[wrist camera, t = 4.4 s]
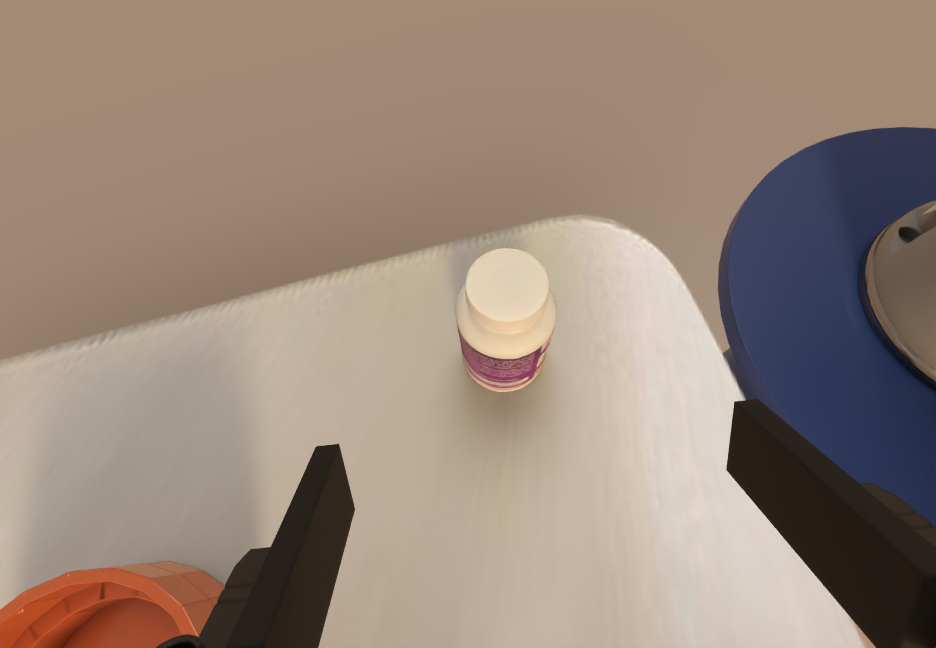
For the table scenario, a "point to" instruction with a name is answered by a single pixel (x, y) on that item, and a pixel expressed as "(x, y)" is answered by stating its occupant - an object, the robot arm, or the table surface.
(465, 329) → the pill bottle
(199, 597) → the bowl
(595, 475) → the table surface
